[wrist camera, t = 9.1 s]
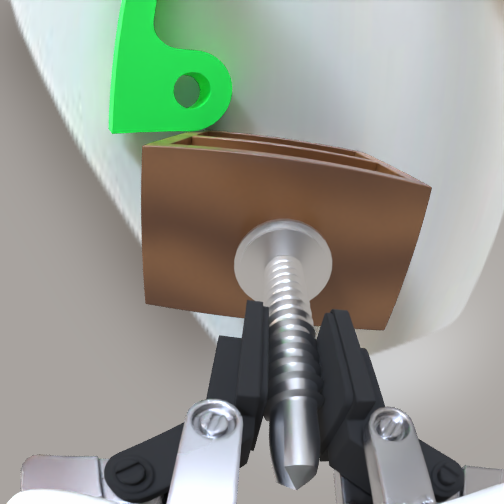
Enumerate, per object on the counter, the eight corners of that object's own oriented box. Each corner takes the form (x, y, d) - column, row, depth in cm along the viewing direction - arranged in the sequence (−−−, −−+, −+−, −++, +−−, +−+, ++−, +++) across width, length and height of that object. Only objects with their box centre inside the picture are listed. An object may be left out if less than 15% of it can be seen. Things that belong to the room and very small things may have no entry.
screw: (301, 191, 16) (338, 265, 18) (221, 232, 17) (263, 299, 19) (377, 413, 4) (410, 486, 6) (145, 463, 5) (254, 521, 7)
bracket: (200, 126, 31) (228, 132, 26) (108, 128, 27) (112, 134, 21) (220, -36, 22) (251, -61, 17) (132, -46, 18) (145, -79, 12)
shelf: (197, 129, 28) (141, 145, 15) (363, 152, 28) (432, 187, 15) (191, 226, 32) (145, 304, 19) (343, 246, 32) (384, 331, 19)
